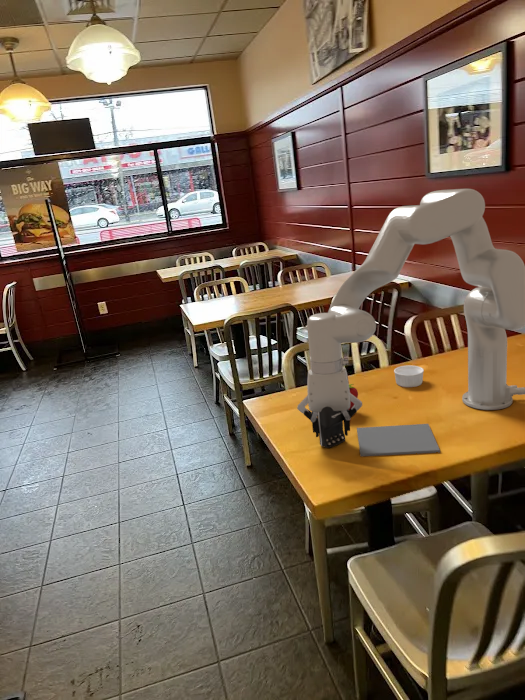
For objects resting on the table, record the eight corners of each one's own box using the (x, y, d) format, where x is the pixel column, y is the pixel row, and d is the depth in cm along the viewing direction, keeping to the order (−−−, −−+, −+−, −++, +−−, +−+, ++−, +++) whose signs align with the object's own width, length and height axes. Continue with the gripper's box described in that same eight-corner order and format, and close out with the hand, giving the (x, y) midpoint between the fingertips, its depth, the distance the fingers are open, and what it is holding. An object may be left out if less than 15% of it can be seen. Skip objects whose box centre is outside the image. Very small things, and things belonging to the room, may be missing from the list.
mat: (428, 425, 132) (428, 423, 132) (440, 452, 119) (439, 450, 119) (356, 430, 135) (356, 427, 135) (360, 456, 122) (360, 454, 122)
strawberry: (330, 415, 146) (327, 381, 143) (348, 406, 150) (346, 373, 147) (345, 420, 141) (343, 386, 138) (364, 411, 146) (362, 377, 143)
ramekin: (427, 379, 163) (427, 366, 162) (419, 389, 156) (418, 376, 155) (399, 376, 168) (399, 364, 167) (390, 386, 161) (389, 373, 160)
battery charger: (328, 451, 126) (325, 408, 122) (318, 446, 129) (315, 403, 126) (350, 441, 129) (347, 399, 126) (339, 436, 132) (337, 395, 129)
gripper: (362, 358, 126) (366, 425, 131) (291, 362, 128) (297, 429, 133) (364, 368, 118) (368, 439, 124) (289, 373, 121) (296, 442, 126)
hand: (331, 433), depth 128 cm, fingers closed on battery charger, 6 cm apart
